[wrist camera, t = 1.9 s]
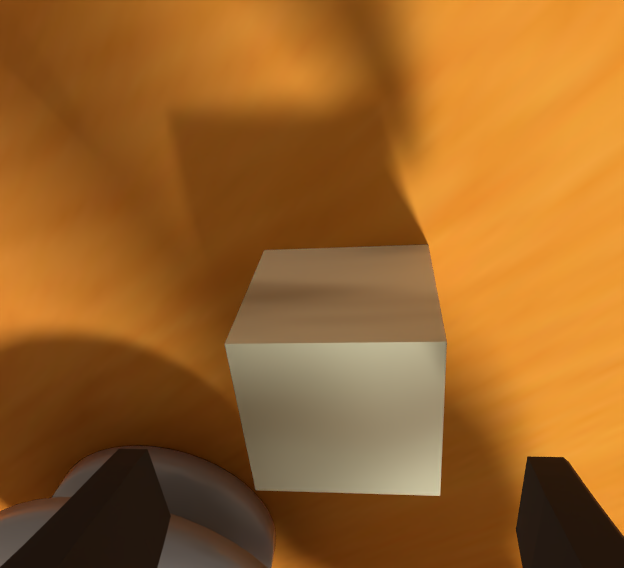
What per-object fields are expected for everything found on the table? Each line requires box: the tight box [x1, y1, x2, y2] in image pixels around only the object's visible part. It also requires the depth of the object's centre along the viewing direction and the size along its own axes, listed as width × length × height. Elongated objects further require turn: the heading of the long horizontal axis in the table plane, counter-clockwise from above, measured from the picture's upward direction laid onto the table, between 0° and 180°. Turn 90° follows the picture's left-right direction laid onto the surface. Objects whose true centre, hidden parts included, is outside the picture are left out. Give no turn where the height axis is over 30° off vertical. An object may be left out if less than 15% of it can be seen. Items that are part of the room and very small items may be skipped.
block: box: [225, 244, 447, 496], centre depth 14 cm, size 4×4×4 cm
